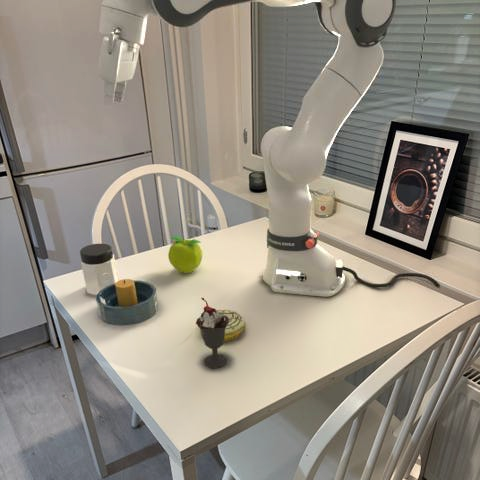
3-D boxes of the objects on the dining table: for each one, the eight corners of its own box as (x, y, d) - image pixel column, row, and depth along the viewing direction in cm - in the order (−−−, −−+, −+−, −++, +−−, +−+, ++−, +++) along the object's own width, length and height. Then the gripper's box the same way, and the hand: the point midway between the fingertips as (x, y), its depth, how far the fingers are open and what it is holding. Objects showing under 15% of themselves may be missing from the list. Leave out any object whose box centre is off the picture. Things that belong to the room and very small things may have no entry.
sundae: (199, 353, 107) (193, 292, 99) (230, 351, 107) (226, 290, 99) (199, 371, 101) (193, 309, 93) (232, 369, 102) (228, 306, 94)
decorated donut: (248, 321, 118) (248, 307, 116) (240, 346, 109) (239, 332, 107) (206, 318, 120) (205, 304, 118) (194, 342, 111) (193, 328, 109)
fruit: (181, 262, 148) (178, 231, 143) (208, 267, 145) (206, 235, 139) (164, 274, 141) (160, 242, 136) (192, 280, 138) (189, 247, 132)
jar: (92, 300, 129) (83, 258, 123) (83, 288, 135) (74, 248, 129) (124, 290, 133) (117, 250, 127) (113, 280, 139) (106, 240, 133)
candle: (142, 307, 124) (137, 277, 120) (131, 315, 121) (126, 285, 116) (127, 303, 126) (122, 274, 122) (116, 312, 122) (110, 282, 118)
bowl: (169, 304, 126) (167, 286, 124) (135, 332, 115) (132, 313, 112) (124, 293, 132) (121, 276, 129) (87, 319, 121) (83, 301, 118)
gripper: (129, 31, 89) (119, 111, 95) (145, 36, 107) (135, 103, 113) (94, 21, 88) (86, 102, 94) (116, 27, 106) (108, 95, 112)
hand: (113, 102), depth 104 cm, fingers open, 8 cm apart
